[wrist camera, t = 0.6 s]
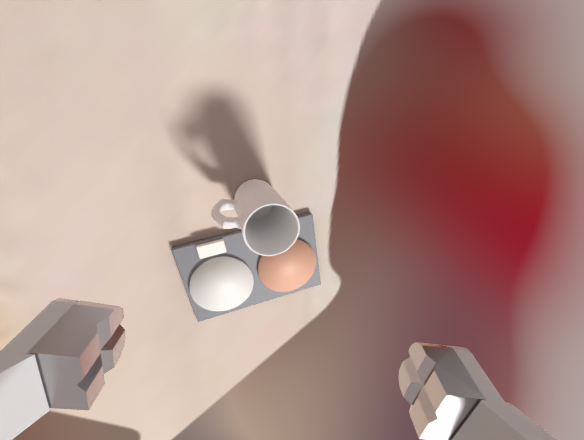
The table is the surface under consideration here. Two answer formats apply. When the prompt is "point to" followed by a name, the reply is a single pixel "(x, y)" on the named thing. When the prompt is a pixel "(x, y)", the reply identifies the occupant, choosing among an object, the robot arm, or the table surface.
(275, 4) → the table surface
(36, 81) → the table surface
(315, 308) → the table surface
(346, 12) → the table surface
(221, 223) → the mug
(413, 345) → the robot arm
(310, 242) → the grey food tray
